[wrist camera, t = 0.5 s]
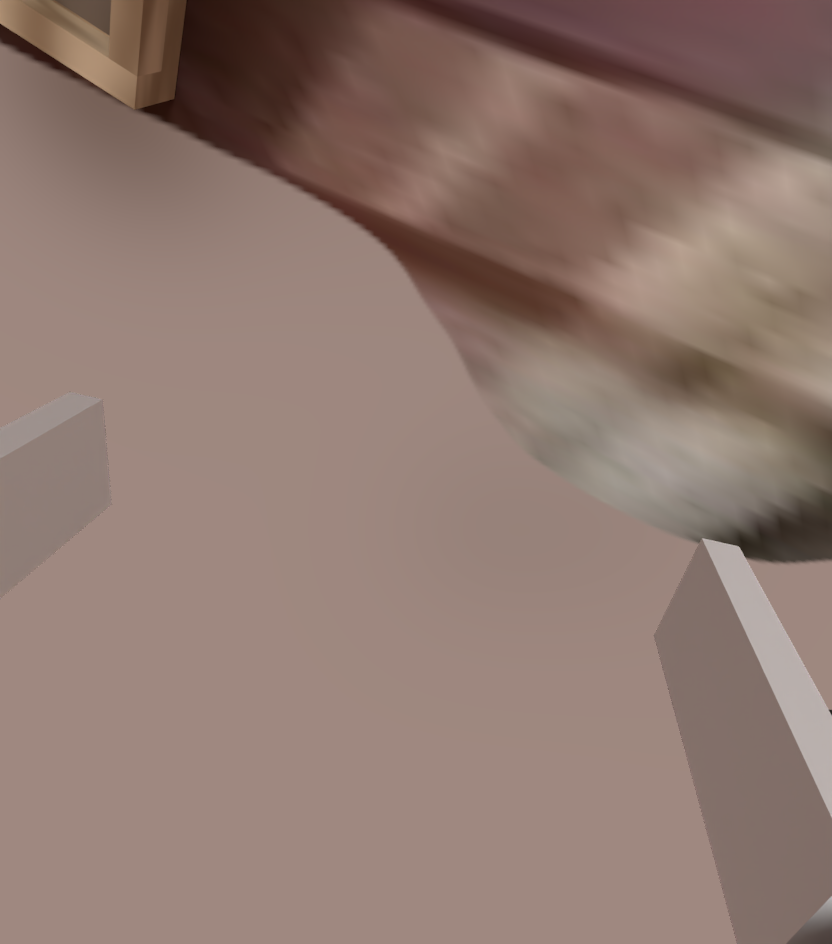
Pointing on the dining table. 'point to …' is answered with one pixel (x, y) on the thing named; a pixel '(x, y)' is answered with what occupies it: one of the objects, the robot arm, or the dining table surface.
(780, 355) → the dining table surface
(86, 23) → the wooden square tray
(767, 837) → the robot arm
